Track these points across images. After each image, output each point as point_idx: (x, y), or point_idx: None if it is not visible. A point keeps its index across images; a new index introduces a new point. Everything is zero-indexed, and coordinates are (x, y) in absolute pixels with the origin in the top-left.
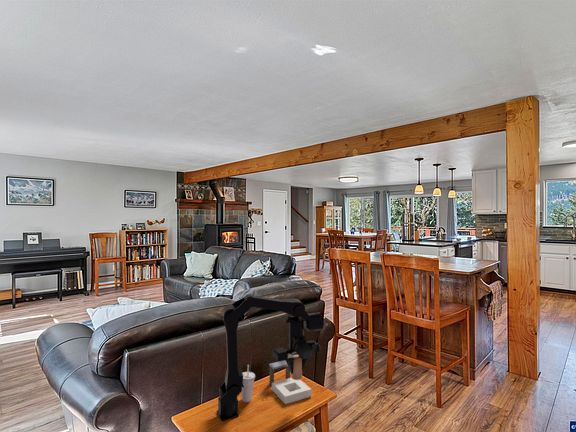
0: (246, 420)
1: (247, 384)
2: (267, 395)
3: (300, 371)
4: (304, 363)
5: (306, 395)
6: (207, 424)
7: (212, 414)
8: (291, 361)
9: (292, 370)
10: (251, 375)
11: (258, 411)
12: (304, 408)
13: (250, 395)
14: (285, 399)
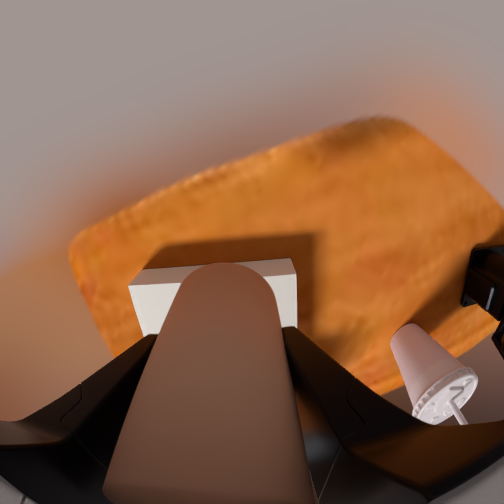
0: (463, 216)
1: (454, 361)
2: (328, 344)
3: (189, 307)
4: (94, 383)
5: (163, 272)
6: None
7: None
8: (409, 443)
9: (300, 347)
10: (437, 402)
11: (413, 251)
12: (213, 187)
13: (414, 337)
14: (292, 267)
